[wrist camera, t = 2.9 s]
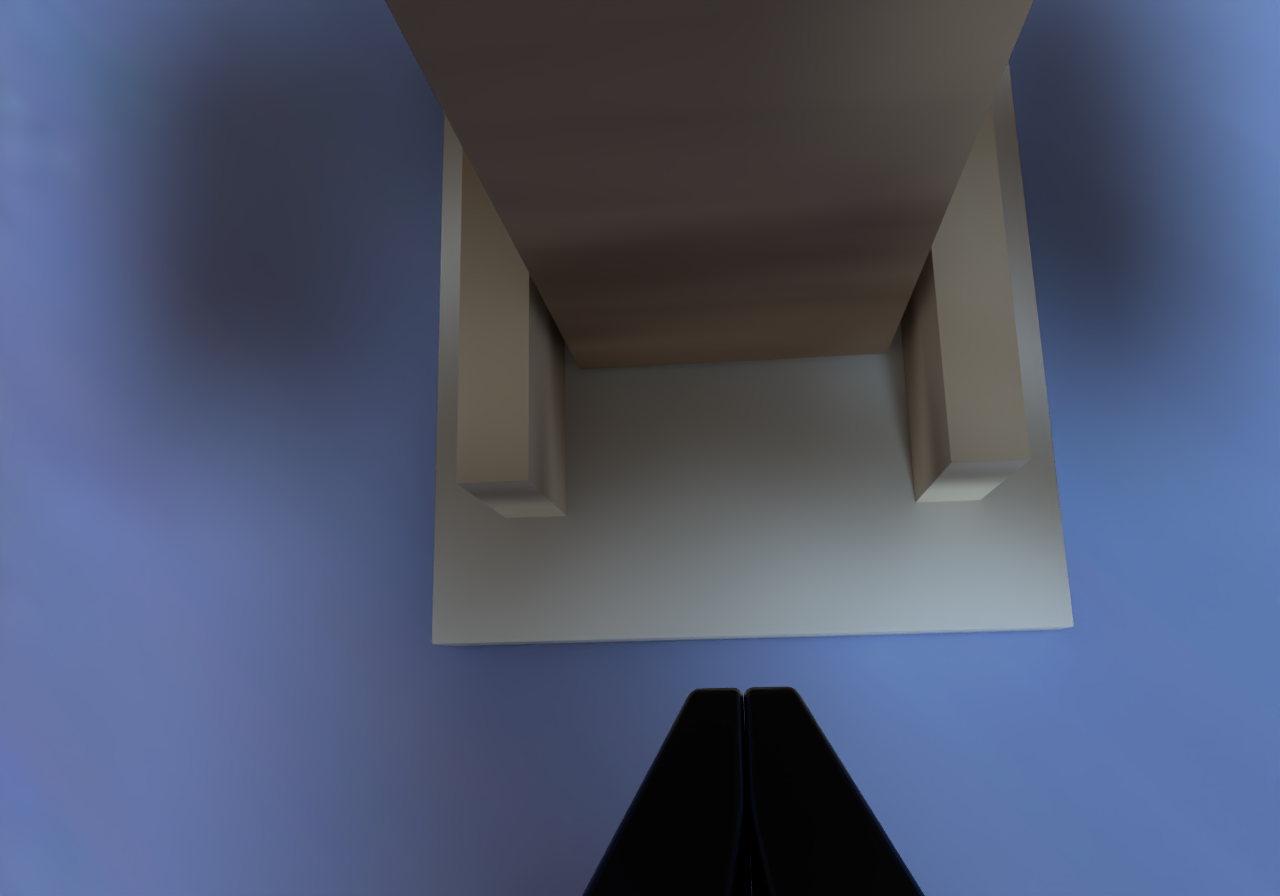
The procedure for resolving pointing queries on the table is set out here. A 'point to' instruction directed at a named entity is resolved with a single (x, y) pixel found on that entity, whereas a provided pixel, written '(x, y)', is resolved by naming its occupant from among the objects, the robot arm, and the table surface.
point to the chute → (750, 456)
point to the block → (717, 159)
